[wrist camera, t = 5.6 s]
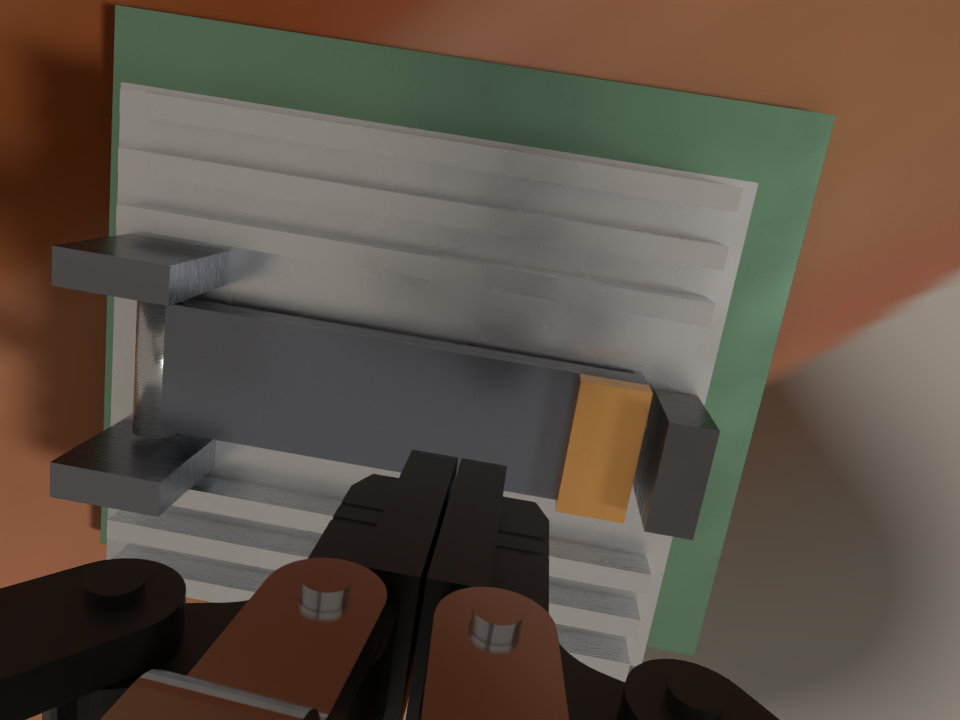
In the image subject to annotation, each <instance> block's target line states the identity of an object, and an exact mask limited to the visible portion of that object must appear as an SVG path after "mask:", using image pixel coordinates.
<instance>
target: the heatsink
mask: <svg viewBox="0 0 960 720" xmlns="http://www.w3.org/2000/svg"><path fill="white" fill-rule="evenodd" d="M835 116H836V115H830V114H823V113H817V112H810V111H804V110H797V109H791V108H784V107H778V106H771V105H765V104H758V103H751V102H745V101H738V100H732V99H725V98H719V97H712V96H706V95H699V94H693V93H686V92H680V91H673V90H667V89H660V88H654V87H647V86H641V85H634V84H628V83H621V82H614V81H608V80H601V79H595V78H588V77H582V76H575V75H569V74H562V73H556V72H549V71H543V70H536V69H530V68H523V67H517V66H510V65H504V64H497V63H491V62H484V61H477V60H471V59H464V58H458V57H451V56H445V55H438V54H432V53H425V52H419V51H412V50H406V49H399V48H393V47H386V46H380V45H373V44H367V43H360V42H354V41H347V40H340V39H334V38H327V37H321V36H314V35H308V34H301V33H295V32H288V31H282V30H275V29H269V28H262V27H256V26H249V25H243V24H236V23H230V22H223V21H216V20H210V19H203V18H197V17H190V16H184V15H177V14H171V13H164V12H158V11H151V10H145V9H138V8H132V7H125V6H119V5H115V32H114V68H113V104H112V140H111V176H110V212H109V237H104V238H98V239H92V240H85V241H79V242H72V243H66V244H60V245H53V246H52V286H56V287H62V288H67V289H73V290H79V291H85V292H90V293H96V294H102V295H107V321H106V357H105V393H104V429H103V431H102V432H101V433H99V434H97V435H96V436H94V437H92V438H91V439H89V440H87V441H85V442H84V443H82V444H80V445H79V446H77V447H75V448H74V449H72V450H70V451H68V452H67V453H65V454H63V455H62V456H60V457H58V458H57V459H55V460H53V461H51V462H50V497H54V498H60V499H65V500H70V501H75V502H81V503H86V504H91V505H97V506H101V538H100V543H104V544H107V560H109V559H119V558H137V559H146V560H151V561H156V562H159V563H162V564H165V565H167V566H169V567H171V568H173V569H174V570H175V571H177V572H178V573H179V574H180V575H181V576H182V578H183V579H184V582H185V584H186V597H188V598H194V599H199V600H204V601H209V602H214V603H224V602H239V601H246V600H249V599H250V598H251V597H252V596H253V594H254V593H255V592H256V591H257V590H258V588H259V587H260V586H261V585H262V584H263V582H264V581H265V580H266V579H267V577H269V576H270V575H271V574H272V573H273V572H274V571H275V570H277V569H278V568H280V567H282V566H284V565H286V564H289V563H292V562H295V561H299V560H303V559H308V557H309V555H310V554H311V552H312V550H313V549H314V547H315V545H316V544H317V542H318V540H319V539H320V537H321V535H322V534H323V532H324V530H325V529H326V527H327V525H328V524H329V522H330V520H332V519H333V515H334V514H335V512H336V510H337V509H338V507H339V505H340V506H341V502H342V500H343V499H344V497H345V495H346V494H347V492H348V490H349V489H350V487H351V485H353V484H355V483H357V482H359V481H360V480H362V479H364V478H366V477H368V476H370V475H371V474H379V475H384V476H390V477H396V478H399V477H400V475H401V473H400V472H394V471H388V470H383V469H377V468H371V467H366V466H360V465H354V464H349V463H343V462H337V461H332V460H326V459H320V458H315V457H309V456H303V455H298V454H292V453H286V452H281V451H275V450H269V449H264V448H258V447H252V446H247V445H241V444H235V443H230V442H224V441H218V440H213V439H207V438H201V437H196V436H190V435H184V434H179V433H176V434H175V435H173V436H170V437H166V438H145V437H140V436H138V435H135V434H134V433H133V432H132V421H133V395H134V369H135V342H136V316H137V301H142V302H148V303H154V304H160V305H165V306H170V305H173V304H175V303H178V302H181V301H184V300H186V299H189V298H190V299H196V300H202V301H208V302H214V303H220V304H226V305H231V306H237V307H243V308H249V309H255V310H261V311H267V312H273V313H279V314H285V315H290V316H296V317H302V318H308V319H314V320H320V321H326V322H332V323H338V324H344V325H350V326H355V327H361V328H367V329H373V330H379V331H385V332H391V333H397V334H403V335H409V336H414V337H420V338H426V339H432V340H438V341H444V342H450V343H456V344H462V345H468V346H473V347H479V348H485V349H491V350H497V351H503V352H509V353H515V354H521V355H527V356H533V357H538V358H544V359H550V360H556V361H562V362H568V363H574V364H580V365H586V366H592V367H597V368H603V369H609V370H615V371H621V372H627V373H633V374H639V375H644V376H645V378H646V380H647V382H648V384H649V386H650V389H651V391H652V393H653V395H652V399H651V404H650V408H649V413H648V417H647V422H646V426H645V431H644V435H643V440H642V444H641V449H640V453H639V458H638V462H637V467H636V471H635V476H634V480H633V485H632V489H631V494H630V498H629V503H628V507H627V511H626V516H625V520H624V524H623V523H617V522H612V521H606V520H600V519H595V518H589V517H583V516H578V515H572V514H566V513H561V512H555V500H553V499H547V498H541V497H536V496H530V495H524V494H519V493H513V492H507V491H504V492H503V497H509V498H515V499H520V500H526V501H532V502H536V503H537V504H538V506H539V507H540V509H541V510H542V511H543V513H544V514H545V515H546V517H547V518H548V519H549V615H550V616H551V617H552V619H553V621H554V622H555V624H556V628H557V632H558V640H559V643H560V645H561V646H562V647H563V648H564V649H565V650H566V651H567V652H568V653H569V654H571V655H572V656H573V657H575V658H576V659H577V660H579V661H580V662H582V663H584V664H585V665H587V666H589V667H591V668H593V669H595V670H597V671H599V672H601V673H604V674H606V675H608V676H611V677H613V678H615V679H618V680H620V681H624V682H625V681H626V679H627V675H628V671H629V666H630V665H631V666H637V665H639V664H641V663H642V661H643V657H644V653H645V649H646V647H650V648H656V649H661V650H666V651H672V652H677V653H682V654H687V655H692V656H694V654H695V650H696V646H697V642H698V638H699V635H700V631H701V627H702V623H703V619H704V616H705V611H706V607H707V604H708V600H709V596H710V593H711V589H712V585H713V581H714V577H715V574H716V570H717V566H718V562H719V558H720V555H721V551H722V547H723V543H724V539H725V536H726V532H727V528H728V524H729V520H730V516H731V513H732V509H733V505H734V501H735V497H736V494H737V490H738V486H739V482H740V478H741V474H742V471H743V467H744V463H745V459H746V455H747V451H748V448H749V444H750V440H751V436H752V433H753V428H754V425H755V421H756V417H757V414H758V409H759V406H760V402H761V398H762V394H763V391H764V387H765V383H766V379H767V375H768V372H769V368H770V364H771V360H772V356H773V353H774V349H775V345H776V341H777V337H778V333H779V330H780V326H781V322H782V318H783V314H784V311H785V307H786V303H787V299H788V295H789V292H790V288H791V284H792V280H793V276H794V272H795V269H796V265H797V261H798V257H799V253H800V250H801V246H802V242H803V238H804V234H805V231H806V227H807V223H808V219H809V215H810V211H811V208H812V204H813V200H814V196H815V192H816V189H817V185H818V181H819V177H820V173H821V170H822V166H823V162H824V158H825V154H826V151H827V147H828V143H829V139H830V135H831V131H832V128H833V124H834V120H835Z"/></svg>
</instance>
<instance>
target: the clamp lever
mask: <svg viewBox="0 0 960 720" xmlns="http://www.w3.org/2000/svg"><path fill="white" fill-rule="evenodd" d="M652 395H653V393H652V391H651V389H650V386H649V384H648V382H647V380H646V378H645V376H644V375H639V374H633V373H627V372H621V371H615V370H609V369H603V368H597V367H592V366H586V365H580V364H574V363H568V362H562V361H556V360H550V359H544V358H538V357H533V356H527V355H521V354H515V353H509V352H503V351H497V350H491V349H485V348H479V347H473V346H468V345H462V344H456V343H450V342H444V341H438V340H432V339H426V338H420V337H414V336H409V335H403V334H397V333H391V332H385V331H379V330H373V329H367V328H361V327H355V326H350V325H344V324H338V323H332V322H326V321H320V320H314V319H308V318H302V317H296V316H290V315H285V314H279V313H273V312H267V311H261V310H255V309H249V308H243V307H237V306H231V305H226V304H220V303H214V302H208V301H202V300H196V299H190V298H189V299H186V300H184V301H181V302H178V303H175V304H173V305H170V306H165V305H160V304H154V303H148V302H142V301H137V316H136V342H135V369H134V395H133V421H132V432H133V433H134V434H135V435H138V436H140V437H145V438H166V437H170V436H173V435H175V434H176V433H179V434H184V435H190V436H196V437H201V438H207V439H213V440H218V441H224V442H230V443H235V444H241V445H247V446H252V447H258V448H264V449H269V450H275V451H281V452H286V453H292V454H298V455H303V456H309V457H315V458H320V459H326V460H332V461H337V462H343V463H349V464H354V465H360V466H366V467H371V468H377V469H383V470H388V471H394V472H400V473H401V472H402V470H403V468H404V466H405V464H406V462H407V460H408V457H409V455H410V453H411V451H412V450H419V451H425V452H430V453H436V454H442V455H448V456H453V457H458V466H457V472H458V469H459V465H460V462H461V459H462V458H465V459H471V460H477V461H482V462H488V463H494V464H500V465H505V466H507V470H506V477H505V485H504V491H507V492H513V493H519V494H524V495H530V496H536V497H541V498H547V499H553V500H555V512H561V513H566V514H572V515H578V516H583V517H589V518H595V519H600V520H606V521H612V522H617V523H623V524H624V520H625V516H626V511H627V507H628V503H629V498H630V494H631V489H632V485H633V480H634V476H635V471H636V467H637V462H638V458H639V453H640V449H641V444H642V440H643V435H644V431H645V426H646V422H647V417H648V413H649V408H650V404H651V399H652ZM456 476H457V473H456Z"/></svg>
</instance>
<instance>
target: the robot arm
mask: <svg viewBox="0 0 960 720" xmlns="http://www.w3.org/2000/svg"><path fill="white" fill-rule="evenodd" d="M457 466H458V457H453V456H448V455H442V454H436V453H430V452H425V451H419V450H412V451H411V453H410V455H409V457H408V460H407V462H406V464H405V466H404V468H403V470H402V472H401V475H400V477H399V478H396V477H390V476H384V475H379V474H371V475H370V476H368V477H366V478H364V479H362V480H360V481H359V482H357V483H355V484H353V485H351V487H350V489H349V490H348V492H347V494H346V495H345V497H344V499H343V500H342V502H341V506H340V505H339V507H338V509H337V510H336V512H335V514H334V515H333V519H332V520H330V522H329V524H328V525H327V527H326V529H325V530H324V532H323V534H322V535H321V537H320V539H319V540H318V542H317V544H316V545H315V547H314V549H313V550H312V552H311V554H310V555H309V557H308V559H303V560H299V561H295V562H292V563H289V564H286V565H284V566H282V567H280V568H278V569H277V570H275V571H274V572H273V573H272V574H271V575H270V576H269V577H267V579H266V580H265V581H264V582H263V584H262V585H261V586H260V587H259V588H258V590H257V591H256V592H255V593H254V594H253V596H252V597H251V598H250V599H249V600H246V601H239V602H224V603H186V584H185V582H184V579H183V578H182V576H181V575H180V574H179V573H178V572H177V571H175V570H174V569H173V568H171V567H169V566H167V565H165V564H162V563H159V562H156V561H151V560H146V559H137V558H119V559H109V560H102V561H97V562H93V563H89V564H85V565H82V566H78V567H75V568H71V569H68V570H64V571H61V572H57V573H54V574H50V575H47V576H43V577H40V578H36V579H33V580H29V581H26V582H22V583H18V584H15V585H11V586H8V587H4V588H1V589H0V720H26V719H28V718H31V717H33V716H36V715H38V714H41V713H42V720H403V717H404V714H405V710H406V706H407V702H408V707H407V714H406V720H779V719H778V718H777V717H775V716H774V715H773V714H772V713H770V712H769V711H768V710H767V709H766V708H764V707H763V706H762V705H761V704H759V703H758V702H757V701H756V700H754V699H753V698H752V697H751V696H749V695H748V694H747V693H746V692H745V691H743V690H742V689H741V688H739V687H738V686H737V685H736V684H734V683H733V682H731V681H730V680H729V679H727V678H725V677H724V676H722V675H720V674H719V673H717V672H715V671H712V670H710V669H708V668H705V667H703V666H700V665H698V664H694V663H691V662H687V661H682V660H676V659H656V660H650V661H646V662H643V663H641V664H639V665H637V666H636V667H635V668H633V669H632V670H631V672H630V673H629V674H628V676H627V679H626V681H625V682H623V681H620V680H618V679H615V678H613V677H611V676H608V675H606V674H604V673H601V672H599V671H597V670H595V669H593V668H591V667H589V666H587V665H585V664H584V663H582V662H580V661H579V660H577V659H576V658H575V657H573V656H572V655H571V654H569V653H568V652H567V651H566V650H565V649H564V648H563V647H562V646H561V645H560V643H559V640H558V632H557V628H556V624H555V622H554V621H553V619H552V617H551V616H550V615H549V519H548V518H547V517H546V515H545V514H544V513H543V511H542V510H541V509H540V507H539V506H538V504H537V503H536V502H532V501H526V500H520V499H515V498H509V497H503V492H504V485H505V477H506V470H507V466H505V465H500V464H494V463H488V462H482V461H477V460H471V459H465V458H462V459H461V462H460V465H459V469H458V472H457ZM456 473H457V476H456ZM408 699H409V701H408Z"/></svg>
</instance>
